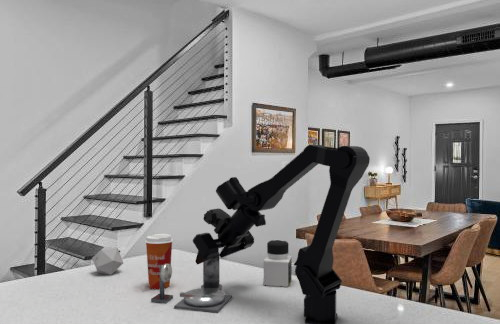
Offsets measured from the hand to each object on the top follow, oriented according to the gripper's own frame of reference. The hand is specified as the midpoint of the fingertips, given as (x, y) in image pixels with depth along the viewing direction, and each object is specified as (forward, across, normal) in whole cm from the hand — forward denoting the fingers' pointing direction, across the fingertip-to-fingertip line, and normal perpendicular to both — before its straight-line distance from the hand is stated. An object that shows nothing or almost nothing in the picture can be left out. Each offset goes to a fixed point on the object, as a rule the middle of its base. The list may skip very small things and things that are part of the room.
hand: (208, 259), depth 115 cm
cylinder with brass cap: (+5, 0, +6) cm, 8 cm away
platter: (+1, +9, +9) cm, 13 cm away
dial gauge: (+8, +14, +4) cm, 16 cm away
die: (+31, +8, -19) cm, 38 cm away
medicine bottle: (-2, -16, +14) cm, 22 cm away
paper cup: (+15, +7, -3) cm, 16 cm away
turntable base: (+1, +8, +10) cm, 13 cm away
